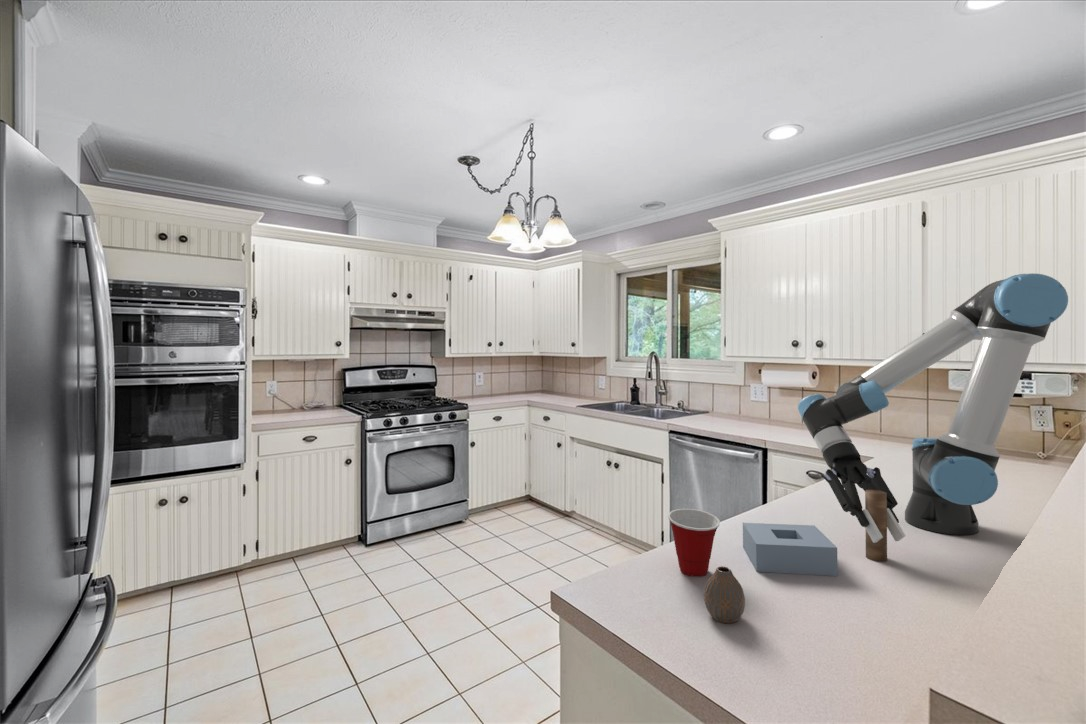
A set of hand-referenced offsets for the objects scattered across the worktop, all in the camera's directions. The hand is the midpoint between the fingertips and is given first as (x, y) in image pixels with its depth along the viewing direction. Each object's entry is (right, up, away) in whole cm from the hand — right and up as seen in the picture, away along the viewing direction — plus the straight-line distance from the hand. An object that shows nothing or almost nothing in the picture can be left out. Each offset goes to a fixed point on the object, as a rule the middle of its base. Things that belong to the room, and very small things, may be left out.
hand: (889, 539), depth 107 cm
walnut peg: (0, -6, +4) cm, 7 cm away
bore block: (-21, -6, +4) cm, 22 cm away
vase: (-43, -7, -19) cm, 47 cm away
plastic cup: (-43, -7, -1) cm, 43 cm away
